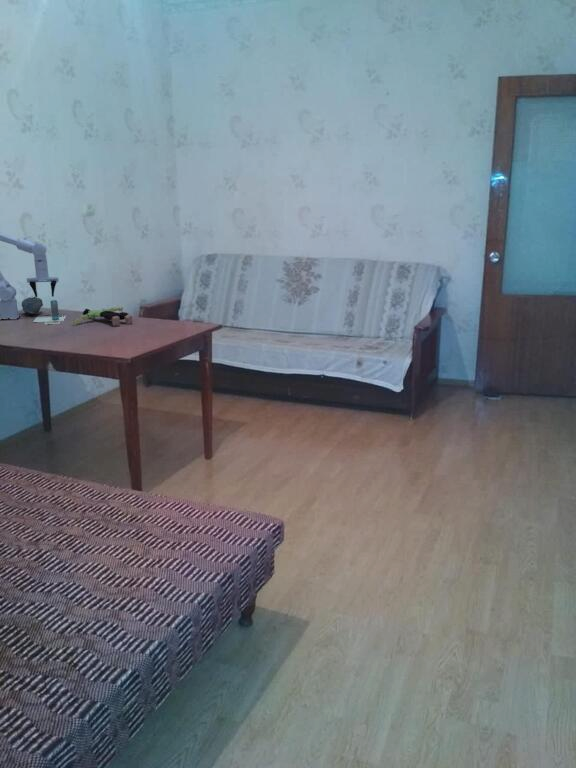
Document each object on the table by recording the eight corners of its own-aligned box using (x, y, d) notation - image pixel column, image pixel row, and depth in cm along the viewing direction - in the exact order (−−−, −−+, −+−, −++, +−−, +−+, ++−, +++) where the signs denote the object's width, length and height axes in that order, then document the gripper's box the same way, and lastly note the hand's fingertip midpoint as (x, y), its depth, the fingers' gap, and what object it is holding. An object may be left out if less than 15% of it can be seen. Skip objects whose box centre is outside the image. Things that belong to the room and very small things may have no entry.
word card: (43, 324, 295) (43, 324, 295) (45, 322, 299) (44, 321, 299) (59, 324, 297) (59, 323, 296) (60, 322, 301) (60, 321, 301)
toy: (150, 317, 306) (111, 312, 324) (148, 303, 304) (108, 300, 321) (99, 336, 283) (60, 331, 301) (96, 322, 281) (56, 317, 298)
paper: (33, 322, 300) (33, 322, 299) (36, 317, 312) (36, 316, 311) (63, 321, 303) (63, 320, 303) (65, 316, 315) (65, 315, 315)
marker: (51, 320, 303) (49, 300, 300) (52, 319, 306) (50, 299, 303) (58, 320, 304) (56, 300, 301) (59, 319, 307) (57, 299, 304)
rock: (43, 310, 329) (23, 307, 326) (44, 297, 325) (24, 294, 322) (38, 326, 317) (17, 323, 314) (38, 312, 312) (17, 309, 310)
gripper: (24, 270, 300) (28, 298, 304) (56, 269, 303) (59, 297, 307) (26, 268, 306) (29, 296, 310) (57, 267, 310) (60, 295, 314)
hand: (44, 296), depth 309 cm, fingers open, 7 cm apart
